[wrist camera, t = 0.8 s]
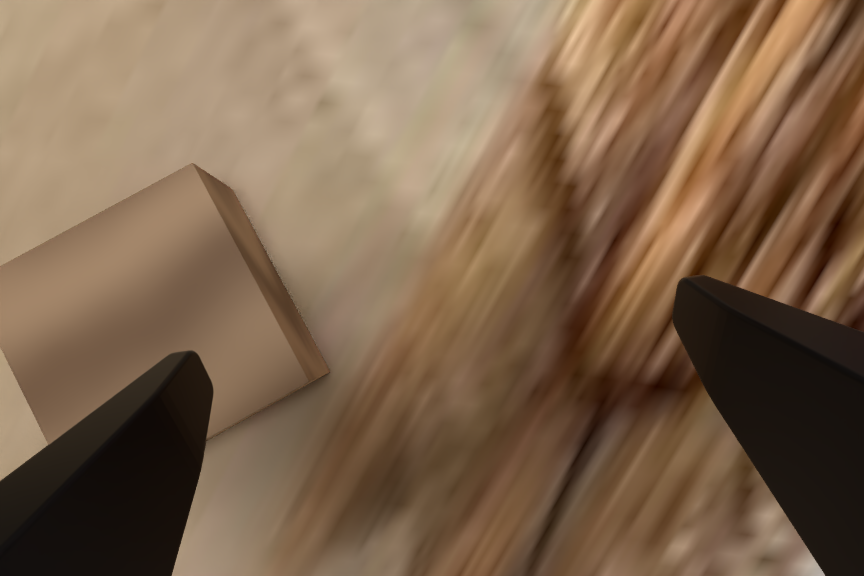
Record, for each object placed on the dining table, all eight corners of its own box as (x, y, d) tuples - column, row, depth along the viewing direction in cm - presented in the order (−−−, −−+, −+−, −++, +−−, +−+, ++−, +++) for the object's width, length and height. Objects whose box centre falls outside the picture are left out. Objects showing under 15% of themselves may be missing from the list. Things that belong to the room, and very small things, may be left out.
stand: (330, 371, 24) (309, 381, 20) (140, 477, 23) (80, 509, 19) (232, 189, 24) (192, 162, 20) (46, 289, 24) (-31, 282, 20)
